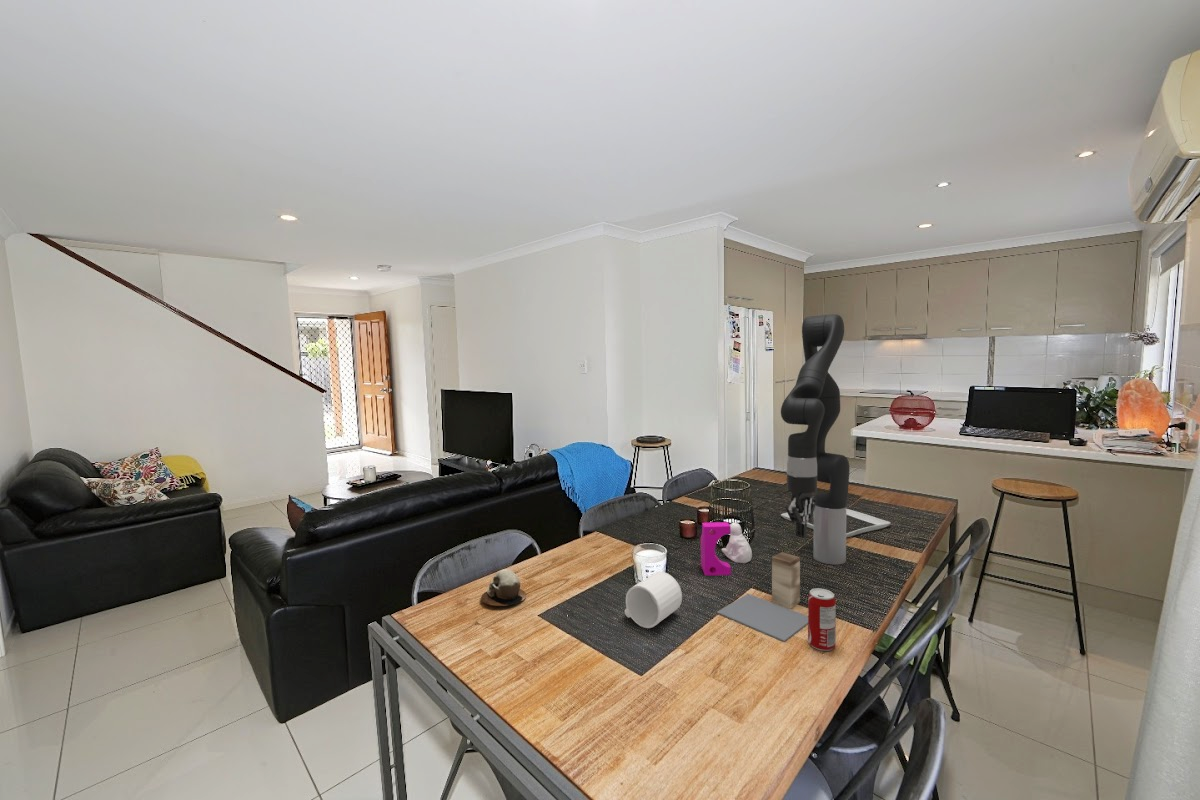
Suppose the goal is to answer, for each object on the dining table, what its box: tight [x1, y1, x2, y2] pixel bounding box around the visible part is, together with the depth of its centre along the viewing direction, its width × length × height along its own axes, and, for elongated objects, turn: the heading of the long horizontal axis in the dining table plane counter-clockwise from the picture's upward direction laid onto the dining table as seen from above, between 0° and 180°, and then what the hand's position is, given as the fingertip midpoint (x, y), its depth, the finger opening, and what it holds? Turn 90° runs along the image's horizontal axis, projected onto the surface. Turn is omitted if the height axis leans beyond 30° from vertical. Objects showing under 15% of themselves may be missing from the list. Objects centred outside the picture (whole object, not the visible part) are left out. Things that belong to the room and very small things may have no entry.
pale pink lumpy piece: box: [721, 522, 753, 564], centre depth 156 cm, size 6×8×12 cm
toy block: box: [700, 521, 732, 576], centre depth 148 cm, size 15×6×8 cm
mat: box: [716, 593, 808, 643], centre depth 122 cm, size 14×18×1 cm
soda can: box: [807, 587, 837, 652], centre depth 109 cm, size 6×6×12 cm
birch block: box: [771, 551, 801, 610], centre depth 129 cm, size 5×5×12 cm
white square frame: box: [780, 508, 891, 538], centre depth 187 cm, size 27×27×4 cm
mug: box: [624, 571, 683, 629], centre depth 123 cm, size 13×10×10 cm
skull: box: [480, 568, 527, 607], centre depth 136 cm, size 12×10×10 cm
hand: (801, 536), depth 134 cm, fingers closed
